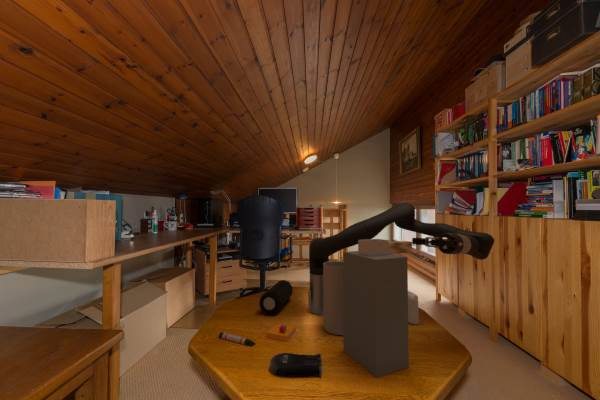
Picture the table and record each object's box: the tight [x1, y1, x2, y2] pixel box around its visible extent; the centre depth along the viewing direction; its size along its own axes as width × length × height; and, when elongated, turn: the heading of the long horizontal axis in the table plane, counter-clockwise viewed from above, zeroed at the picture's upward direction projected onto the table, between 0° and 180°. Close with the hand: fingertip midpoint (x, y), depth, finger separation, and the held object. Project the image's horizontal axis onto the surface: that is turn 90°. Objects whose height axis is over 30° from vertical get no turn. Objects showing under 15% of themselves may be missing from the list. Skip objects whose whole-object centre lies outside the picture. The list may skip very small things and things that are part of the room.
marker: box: [218, 331, 256, 347], centre depth 93 cm, size 15×2×2 cm, turn 64°
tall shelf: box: [342, 250, 410, 378], centre depth 83 cm, size 12×16×32 cm
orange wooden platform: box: [266, 323, 296, 342], centre depth 98 cm, size 8×8×4 cm
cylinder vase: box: [322, 260, 343, 336], centre depth 104 cm, size 12×12×25 cm
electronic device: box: [269, 352, 323, 378], centre depth 77 cm, size 9×6×15 cm
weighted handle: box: [357, 238, 413, 256], centre depth 87 cm, size 19×5×4 cm, turn 115°
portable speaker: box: [259, 279, 293, 315], centre depth 128 cm, size 26×10×10 cm, turn 167°
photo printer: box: [408, 290, 420, 325], centre depth 112 cm, size 10×4×12 cm, turn 39°
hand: (423, 241), depth 89 cm, fingers open, 8 cm apart
